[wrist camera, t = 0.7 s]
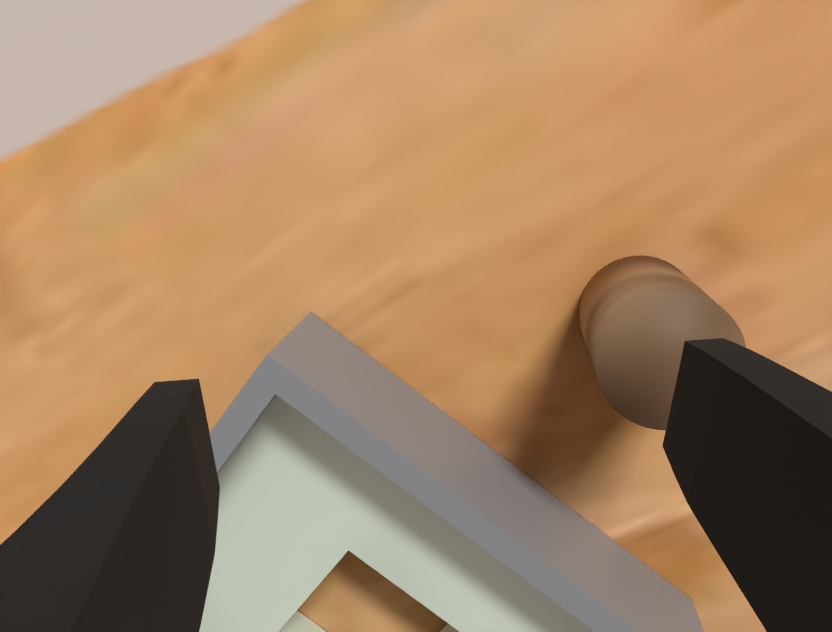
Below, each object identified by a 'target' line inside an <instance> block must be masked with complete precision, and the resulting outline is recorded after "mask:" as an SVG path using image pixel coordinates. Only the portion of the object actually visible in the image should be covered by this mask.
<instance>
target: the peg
mask: <svg viewBox="0 0 832 632" xmlns="http://www.w3.org/2000/svg"><path fill="white" fill-rule="evenodd" d="M578 318H579V325H580V328H581V332H582V335H583V338H584V341H585V344H586V346H587V349H588V352H589V355H590V358H591V361H592V364H593V367H594V370H595V373H596V376H597V379H598V382H599V385H600V388H601V390H602V392H603V394H604V396H605V397H606V399H607V400H608V402H609V403H610V404H611V405H612V407H613V408H614V409H615V410H616V411H617V412H619V413H620V414H621V415H622V416H624V417H625V418H627V419H628V420H630V421H632V422H634V423H636V424H638V425H641V426H644V427H647V428H652V429H657V430H666V428H667V423H668V418H669V414H670V409H671V404H672V399H673V395H674V390H675V385H676V380H677V376H678V371H679V366H680V361H681V357H682V352H683V347H684V342H685V341H690V340H702V339H715V338H725V339H727V340H729V341H732V342H734V343H737V344H739V345H741V346H743V347H745V348H746V345H745V341H744V338H743V335H742V333H741V331H740V329H739V327H738V325H737V324H736V322H735V321H734V320H733V318H732V317H731V316H730V315H729V314H728V313H727V312H726V311H725V310H724V309H723V308H721V307H720V306H719V305H718V304H717V303H716V302H715V301H714V300H712V299H711V298H710V297H709V296H708V295H707V294H706V293H705V292H703V291H702V290H701V289H700V288H699V287H698V286H697V285H696V284H694V283H693V282H692V281H691V280H690V279H689V278H688V277H687V276H685V275H684V274H683V273H682V272H681V271H680V270H679V269H678V268H676V267H675V266H673V265H672V264H670V263H668V262H666V261H664V260H661V259H659V258H655V257H650V256H631V257H625V258H622V259H619V260H616V261H614V262H612V263H610V264H608V265H606V266H605V267H603V268H602V269H601V270H599V271H598V272H597V273H596V274H595V275H594V276H593V277H592V278H591V280H590V281H589V282H588V284H587V285H586V287H585V289H584V291H583V293H582V296H581V299H580V303H579V310H578Z"/></svg>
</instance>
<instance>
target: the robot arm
mask: <svg viewBox="0 0 832 632" xmlns="http://www.w3.org/2000/svg"><path fill="white" fill-rule="evenodd" d="M663 448H664V450H665V453H666V455H667V458H668V460H669V462H670V465H671V467H672V470H673V472H674V474H675V477H676V479H677V481H678V483H679V485H680V488H681V490H682V492H683V494H684V496H685V498H686V501H687V503H688V504H689V506H690V508H691V510H692V511H693V513H694V515H695V516H696V518H697V520H698V521H699V523H700V525H701V526H702V528H703V530H704V531H705V533H706V534H707V536H708V538H709V539H710V541H711V543H712V544H713V546H714V548H715V549H716V551H717V552H718V554H719V556H720V557H721V559H722V560H723V562H724V564H725V565H726V567H727V568H728V570H729V572H730V573H731V575H732V576H733V578H734V580H735V581H736V583H737V584H738V586H739V588H740V589H741V591H742V592H743V594H744V596H745V597H746V599H747V600H748V602H749V604H750V605H751V607H752V608H753V610H754V612H755V613H756V615H757V616H758V618H759V620H760V621H761V623H762V625H763V626H764V628H765V629H766V631H767V632H832V392H831V391H829V390H827V389H825V388H823V387H821V386H819V385H817V384H816V383H814V382H812V381H810V380H808V379H806V378H804V377H802V376H800V375H798V374H797V373H795V372H793V371H791V370H789V369H787V368H785V367H783V366H781V365H779V364H777V363H775V362H774V361H772V360H770V359H768V358H766V357H764V356H762V355H760V354H758V353H756V352H754V351H752V350H750V349H747V348H745V347H743V346H741V345H739V344H737V343H734V342H732V341H729V340H727V339H725V338H715V339H702V340H690V341H685V342H684V347H683V352H682V357H681V361H680V366H679V371H678V376H677V380H676V385H675V390H674V395H673V399H672V404H671V409H670V414H669V418H668V423H667V428H666V433H665V437H664V442H663ZM219 494H220V485H219V480H218V475H217V470H216V465H215V460H214V454H213V449H212V444H211V439H210V434H209V429H208V423H207V418H206V413H205V408H204V403H203V398H202V393H201V387H200V382H199V379H190V380H178V381H165V382H154V384H153V385H152V386H151V387H150V388H149V389H148V390H147V391H146V392H145V393H144V394H143V395H142V397H141V398H140V399H139V400H138V401H137V402H136V403H135V404H134V406H133V407H132V408H131V409H130V410H129V411H128V412H127V414H126V415H125V416H124V417H123V418H122V419H121V421H120V422H119V423H118V424H117V425H116V426H115V427H114V429H113V430H112V431H111V432H110V433H109V434H108V435H107V436H106V438H105V439H104V440H103V441H102V442H101V443H100V444H99V446H98V447H97V448H96V449H95V450H94V451H93V452H92V453H91V454H90V455H89V456H88V457H87V459H86V460H85V461H84V462H83V463H82V464H81V465H80V466H79V467H78V468H77V469H76V470H75V472H74V473H73V474H72V475H71V476H70V477H69V478H68V479H67V480H66V481H65V482H64V483H63V484H62V486H61V487H60V488H59V489H58V490H57V491H56V492H55V493H54V494H53V495H52V496H51V497H50V498H49V499H48V500H46V501H45V502H44V503H43V504H42V505H41V506H40V507H39V508H38V509H37V510H36V511H35V512H34V513H33V514H32V515H31V516H30V517H29V518H28V519H27V520H26V521H25V522H24V523H23V524H22V525H21V526H20V527H19V528H18V529H17V530H16V531H15V532H14V533H13V534H12V535H11V536H10V537H9V538H7V539H6V540H5V541H4V542H3V543H2V544H1V545H0V632H199V630H200V625H201V621H202V616H203V611H204V606H205V601H206V596H207V591H208V586H209V581H210V576H211V571H212V566H213V560H214V555H215V547H216V535H217V524H218V509H219Z"/></svg>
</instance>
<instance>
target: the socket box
mask: <svg viewBox="0 0 832 632" xmlns="http://www.w3.org/2000/svg"><path fill="white" fill-rule="evenodd" d="M209 434H210V439H211V444H212V449H213V454H214V460H215V465H216V470H217V475H218V480H219V485H220V494H219V509H218V524H217V535H216V547H215V555H214V560H213V566H212V571H211V576H210V581H209V586H208V591H207V596H206V601H205V606H204V611H203V616H202V621H201V625H200V630H199V632H326V631H325V630H323V629H322V628H320V627H319V626H318V625H316V624H315V623H314V622H312V621H311V620H309V619H308V618H307V617H305V616H304V615H302V614H301V613H300V612H298V611H297V609H298V608H299V607H300V606H301V605H302V604H303V602H304V601H305V600H306V599H307V598H308V597H309V595H310V594H311V593H312V592H313V591H314V590H315V588H316V587H317V586H318V585H319V584H320V583H321V582H322V580H323V579H324V578H325V577H326V576H327V575H328V573H329V572H330V571H331V570H332V569H333V568H334V566H335V565H336V564H337V563H338V562H339V561H340V559H341V558H342V557H343V556H344V555H345V554H346V553H347V551H348V550H349V551H350V552H351V553H353V554H354V555H355V556H357V557H358V558H360V559H361V560H362V561H364V562H365V563H366V564H368V565H369V566H370V567H372V568H373V569H375V570H376V571H377V572H379V573H380V574H381V575H383V576H384V577H385V578H387V579H388V580H390V581H391V582H392V583H394V584H395V585H396V586H398V587H399V588H400V589H402V590H403V591H405V592H406V593H407V594H409V595H410V596H411V597H413V598H414V599H415V600H417V601H418V602H420V603H421V604H422V605H424V606H425V607H426V608H428V609H429V610H431V611H432V612H433V613H435V614H436V615H437V616H439V617H440V618H441V619H443V620H444V621H446V622H447V623H448V624H447V625H446V626H445V627H444V628H443V629H442V630H441V631H440V632H704V631H703V628H702V626H701V623H700V620H699V618H698V615H697V612H696V610H695V607H694V605H693V602H692V599H691V598H689V597H688V596H687V595H685V594H684V593H683V592H681V591H680V590H679V589H677V588H676V587H675V586H673V585H672V584H671V583H669V582H668V581H667V580H665V579H664V578H663V577H661V576H660V575H659V574H657V573H656V572H655V571H653V570H652V569H651V568H649V567H648V566H647V565H646V564H644V563H643V562H642V561H640V560H639V559H638V558H636V557H635V556H634V555H632V554H631V553H630V552H628V551H627V550H626V549H624V548H623V547H622V546H620V545H619V544H618V543H616V542H615V541H614V540H612V539H611V538H610V537H608V536H607V535H606V534H604V533H603V532H602V531H600V530H599V529H598V528H597V527H595V526H594V525H593V524H591V523H590V522H589V521H587V520H586V519H585V518H583V517H582V516H581V515H579V514H578V513H577V512H575V511H574V510H573V509H571V508H570V507H569V506H567V505H566V504H565V503H563V502H562V501H561V500H559V499H558V498H557V497H555V496H554V495H553V494H551V493H550V492H549V491H547V490H546V489H545V488H544V487H542V486H541V485H540V484H538V483H537V482H536V481H534V480H533V479H532V478H530V477H529V476H528V475H526V474H525V473H524V472H522V471H521V470H520V469H518V468H517V467H516V466H514V465H513V464H512V463H510V462H509V461H508V460H506V459H505V458H504V457H502V456H501V455H500V454H498V453H497V452H496V451H495V450H493V449H492V448H491V447H489V446H488V445H487V444H485V443H484V442H483V441H481V440H480V439H479V438H477V437H476V436H475V435H473V434H472V433H471V432H469V431H468V430H467V429H465V428H464V427H463V426H461V425H460V424H459V423H457V422H456V421H455V420H453V419H452V418H451V417H449V416H448V415H447V414H445V413H444V412H443V411H442V410H440V409H439V408H438V407H436V406H435V405H434V404H432V403H431V402H430V401H428V400H427V399H426V398H424V397H423V396H422V395H420V394H419V393H418V392H416V391H415V390H414V389H412V388H411V387H410V386H408V385H407V384H406V383H404V382H403V381H402V380H400V379H399V378H398V377H396V376H395V375H394V374H393V373H391V372H390V371H389V370H387V369H386V368H385V367H383V366H382V365H381V364H379V363H378V362H377V361H375V360H374V359H373V358H371V357H370V356H369V355H367V354H366V353H365V352H363V351H362V350H361V349H359V348H358V347H357V346H355V345H354V344H353V343H351V342H350V341H349V340H347V339H346V338H345V337H344V336H342V335H341V334H340V333H338V332H337V331H336V330H334V329H333V328H332V327H330V326H329V325H328V324H326V323H325V322H324V321H322V320H321V319H320V318H318V317H317V316H316V315H314V314H313V313H312V312H310V313H309V314H308V315H307V316H306V317H305V318H304V319H303V320H302V321H301V322H300V323H299V324H298V325H297V326H296V327H295V328H294V329H293V330H292V331H291V332H290V333H289V334H288V335H287V336H286V337H285V338H284V339H283V340H281V341H280V342H279V343H278V344H277V345H276V346H275V347H274V348H273V349H272V350H271V351H270V352H269V353H268V354H267V355H266V357H265V358H264V359H263V361H262V362H261V363H260V365H259V366H258V368H257V369H256V370H255V372H254V373H253V374H252V376H251V377H250V379H249V380H248V381H247V383H246V384H245V385H244V387H243V388H242V390H241V391H240V392H239V394H238V395H237V396H236V398H235V399H234V400H233V402H232V403H231V405H230V406H229V407H228V409H227V410H226V411H225V413H224V414H223V416H222V417H221V418H220V420H219V421H218V422H217V424H216V425H215V427H214V428H213V429H212V431H211V432H210V433H209Z"/></svg>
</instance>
